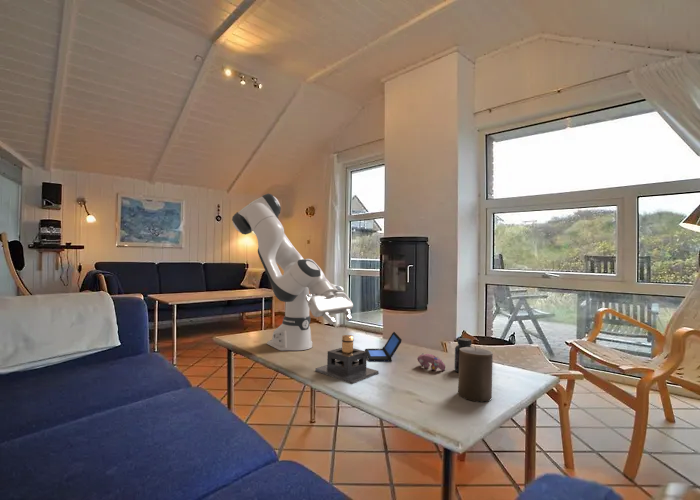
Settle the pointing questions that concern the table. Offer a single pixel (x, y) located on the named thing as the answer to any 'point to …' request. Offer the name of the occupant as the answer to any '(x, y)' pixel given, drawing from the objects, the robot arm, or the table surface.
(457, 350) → the supplement bottle
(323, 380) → the table surface
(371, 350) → the handheld game console
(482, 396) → the pillar candle
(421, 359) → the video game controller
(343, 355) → the collar stand
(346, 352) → the gold cylindrical bottle
